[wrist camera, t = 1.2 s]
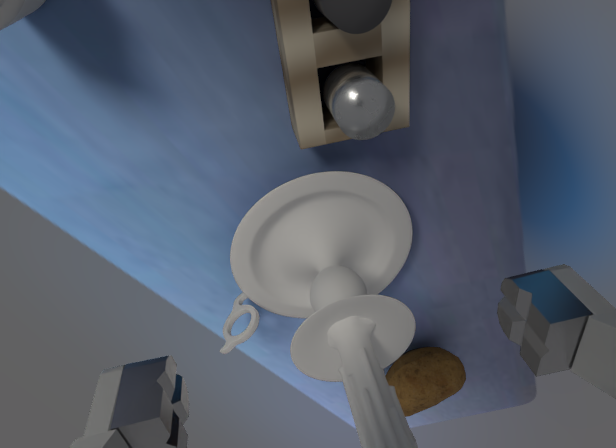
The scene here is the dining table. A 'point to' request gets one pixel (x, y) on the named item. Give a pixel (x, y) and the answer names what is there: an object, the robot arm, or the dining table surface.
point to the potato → (425, 378)
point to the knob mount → (335, 50)
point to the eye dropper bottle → (16, 10)
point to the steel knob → (358, 101)
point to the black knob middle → (354, 13)
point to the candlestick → (332, 288)
